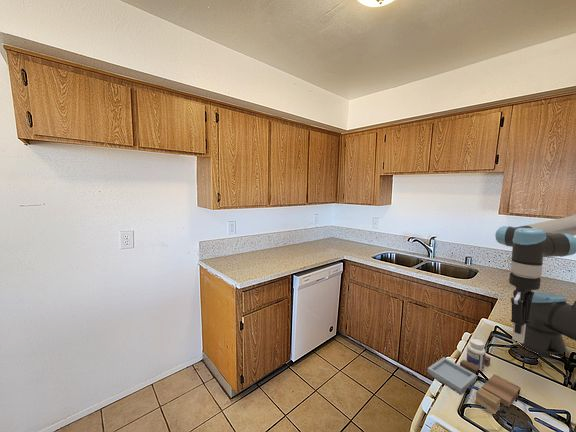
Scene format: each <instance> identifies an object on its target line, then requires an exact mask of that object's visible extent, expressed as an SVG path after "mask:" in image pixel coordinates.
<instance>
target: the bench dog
mask: <svg viewBox="0 0 576 432" xmlns="http://www.w3.org/2000/svg"><path fill="white" fill-rule="evenodd" d="M475 404H476V405H478V406H479V405H481V406H484V407H487V409H484V411H487V412H488V413H490V414H491V415H493V414H496V412H497V411H498V410H499V411H500V409H501V408H500V407H501V404H500V398H498V397H496V396H495V395H493V394H491V393H489V392H488V391H486V390H484V389H482V387H480V388H479V389H478V390H476V392H475ZM496 415H497V414H496Z"/></svg>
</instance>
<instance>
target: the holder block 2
mask: <svg viewBox="0 0 576 432" xmlns="http://www.w3.org/2000/svg"><path fill="white" fill-rule="evenodd" d="M490 364H491V357H489V355H488V356H487V355H486V354H485V366H486V367H489V366H490ZM485 366H484V367H485Z"/></svg>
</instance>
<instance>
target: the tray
mask: <svg viewBox="0 0 576 432" xmlns="http://www.w3.org/2000/svg"><path fill="white" fill-rule="evenodd" d="M427 374H428V375H429V376H431V377H433V378H434V379H436V380H438V381H439V382H441V383H442V384H444V385H445V386H446V387H448V388H450V389H452V390H453V391H455V392H457V393H458V394H459V395H462V394H463V393H464V392H466V391H467V390H468V389H469V388H470V387H471V386H472V385H473V384H474V383H476V382H477V381H476V379H477V380H478V375H476V374H474V373H472V372H470V371H469V370H467V369H465V368H463V367H461V366H460V364H457V363H456V362H454V361H451V360H450V359H448V358H447V357H445V356H443V357H442V358H440V359H439V360H437V361H436V362H434V363H433V364H431V365H429V366H428V367H427ZM475 381H476V382H475ZM470 385H471V386H470ZM469 386H470V387H469ZM468 387H469V388H468ZM467 388H468V389H467Z"/></svg>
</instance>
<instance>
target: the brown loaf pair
mask: <svg viewBox="0 0 576 432" xmlns="http://www.w3.org/2000/svg"><path fill="white" fill-rule="evenodd" d="M481 388H482V389H484V390H486V391H488V392H489V393H491V394H493V395H495V396H496V397H498V398H500V403H503V404H504V405H507V406H508V407H509V406H510V405H511V406H512V404H513V403H514V402H515V401H516V399H517V398H516V395H517V393H518V391H519V390H520V392H519V395H520V394H521V387H520V386H519V385H517V384H515V383H513V382H511V381H509V380H507V379H504V378H503V377H500V376H498V375H497V374H493V375H492V376H491V377H490V378H489V379H488V380H487V381H486V382H485V383H484V384H483V385H481ZM515 398H516V399H515ZM504 405H503V406H504ZM511 406H510V407H511ZM510 407H509V408H510Z"/></svg>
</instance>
